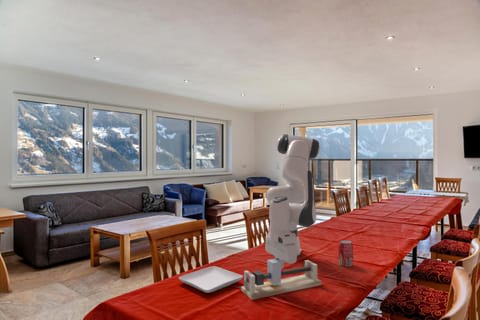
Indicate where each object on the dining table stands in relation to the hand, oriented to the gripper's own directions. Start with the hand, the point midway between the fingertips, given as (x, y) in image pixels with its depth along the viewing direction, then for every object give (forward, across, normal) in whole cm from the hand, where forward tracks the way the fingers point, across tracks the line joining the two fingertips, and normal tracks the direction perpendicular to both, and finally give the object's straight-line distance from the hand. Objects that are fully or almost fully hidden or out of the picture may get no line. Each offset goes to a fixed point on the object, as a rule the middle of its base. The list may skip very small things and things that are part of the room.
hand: (280, 267), depth 138 cm
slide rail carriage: (+6, 0, -3) cm, 6 cm away
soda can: (+9, -10, +45) cm, 47 cm away
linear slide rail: (+9, 0, +1) cm, 9 cm away
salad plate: (+9, -18, -25) cm, 32 cm away
